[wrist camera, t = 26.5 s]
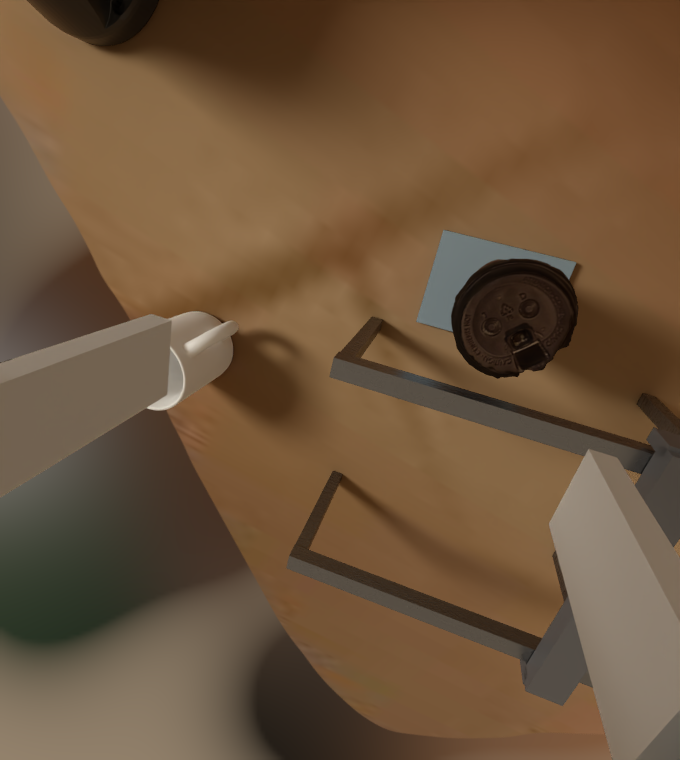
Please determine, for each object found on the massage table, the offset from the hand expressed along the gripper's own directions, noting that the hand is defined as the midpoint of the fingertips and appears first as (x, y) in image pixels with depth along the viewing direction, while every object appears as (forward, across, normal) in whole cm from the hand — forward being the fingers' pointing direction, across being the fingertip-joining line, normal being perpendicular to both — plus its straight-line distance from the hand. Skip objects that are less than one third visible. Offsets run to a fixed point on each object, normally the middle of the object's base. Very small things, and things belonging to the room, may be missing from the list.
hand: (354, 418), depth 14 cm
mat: (+33, +6, 0) cm, 33 cm away
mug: (+33, -22, -13) cm, 42 cm away
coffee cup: (+32, +7, 0) cm, 33 cm away
